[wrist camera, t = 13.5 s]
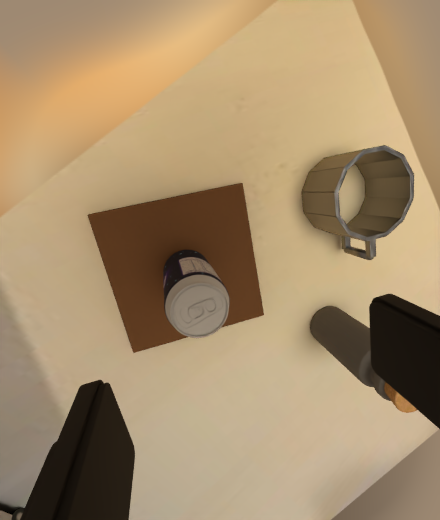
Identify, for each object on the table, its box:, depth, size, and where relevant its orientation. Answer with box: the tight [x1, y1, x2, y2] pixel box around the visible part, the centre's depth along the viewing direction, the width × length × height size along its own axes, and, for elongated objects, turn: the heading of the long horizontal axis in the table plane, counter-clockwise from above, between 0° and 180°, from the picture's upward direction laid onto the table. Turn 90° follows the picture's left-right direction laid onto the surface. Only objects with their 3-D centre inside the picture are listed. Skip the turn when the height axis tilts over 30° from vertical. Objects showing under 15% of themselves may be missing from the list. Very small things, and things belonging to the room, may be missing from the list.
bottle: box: [310, 306, 417, 413], centre depth 34 cm, size 6×6×15 cm
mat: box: [88, 183, 264, 353], centre depth 33 cm, size 18×18×1 cm
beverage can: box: [163, 250, 230, 338], centre depth 27 cm, size 6×6×12 cm
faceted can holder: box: [302, 145, 414, 260], centre depth 33 cm, size 13×10×7 cm
